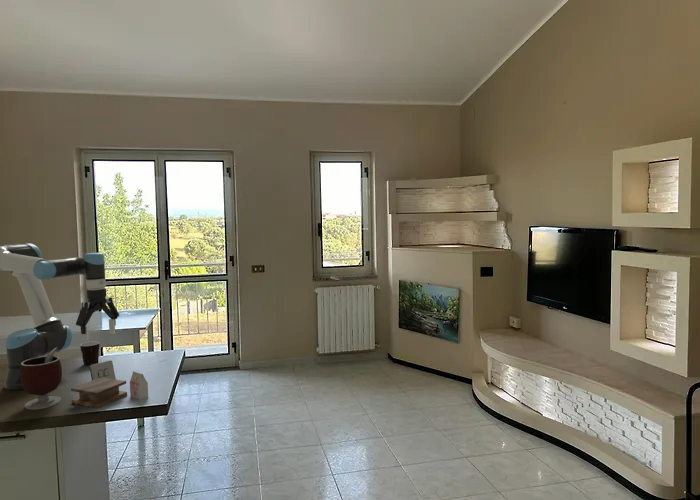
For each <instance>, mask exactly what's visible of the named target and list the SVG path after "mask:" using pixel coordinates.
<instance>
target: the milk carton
mask: <svg viewBox="0 0 700 500" xmlns="http://www.w3.org/2000/svg"><path fill="white" fill-rule="evenodd" d="M129 393H130V398H133V399H136V400H139V401H141V400H145V399H148V398H149V385H148V381H147V379H146V378H145V376H144V374H143V373H142V372H137V371H135V370H134V371H132V375H131V377H130V380H129Z"/></svg>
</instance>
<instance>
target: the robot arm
mask: <svg viewBox="0 0 700 500" xmlns="http://www.w3.org/2000/svg"><path fill="white" fill-rule="evenodd" d="M105 263H106V261H105V255H104V253H102V252H88V253H85V254H84V256H83V257H80V256H79V257H77V256H70V257H67V258H59V259H47V258H43V255H42V252H41V250H40V248H39V247H38V246H36V244H33V243H30V242H29V243H27V242H26V243H25V242H20V243H11V244H10V243H8V244H7V243H5V244H0V272H6V271H9V272H10V274H11V276H13V277H16V279H17V282H18V284H19V286H20V289H21V291H22V293H23V296H24V299H25V302H26V304H27V307H28V310H29V313H30V316H31V318H32V321H33V324H34V325H33V328H24V329H20V330H15V331H14V332H12V333H10V334H8V335H7V337H6V343H5V348H6V355H7V357H6V360H7V373H6V374H5V375H6V376H5V380H4V386H3V387H4V389H5V390H9V391H19V390H24V389H23V387H22V384H21V380H20V369H21V363H22V362H23V361H25V360H28V359H32V358H36V357H43V356H47V355H48V354H49V353H50V352H51V351H52V350H53V349H54V348H57V349H56V350H55V352H54V353H59V352H61V351H64V350H67V348H69V347H70V346H71V343H72V340H73V334H72V330H71V328H70V326H69V325H68V324H65V323H62V321H61V319H59V318H57V316H55V312H54V310H53V307H52V305H51V302H50V299H49V296H48V294H47V292H46V289H45V287H44V284H43V282H42V280H51V279H56V278H63V277H71V276H79V275H83V276H84V275H85V285H86V286H85V287H86V289H87V290H86V298H87V300H88V301H87V302H86V301H85V302H84V301H82V302H81V304H80V305H81V307H80V309H79V314H78V316H77V319H76V322H75V325H76V326H78V327H80V334H81V335H82V342H85V343H86V342H90V336H89V335H90V334H89V325H87V324H88V323H89V322H90V319H91V318H92V316H93V314H94V313H95V312H96V311H98V312H99V310H100V311H103V312H104V313H105V314H106V315H107V317H109V319H108V329H109V335H116V325H117V323H116V320H117V319H118V318H119V317H120V313H119V312H118V310H117V307H116V306H115V304H114V301H113V297H107V288H106V287H107V284H106V283H107V282H106V267H105V266H106V265H105Z"/></svg>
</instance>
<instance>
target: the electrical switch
mask: <svg viewBox="0 0 700 500" xmlns="http://www.w3.org/2000/svg"><path fill="white" fill-rule="evenodd" d="M89 372H90V377H91V381H92V380H95V379H98V378H101V377H102V378H109V379H116V374H115V368H114V363H113V361H112V360H105V361H101V362H98V363H97V364H93V365H91V366H89ZM116 380H117V379H116Z"/></svg>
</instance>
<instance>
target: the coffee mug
mask: <svg viewBox="0 0 700 500" xmlns="http://www.w3.org/2000/svg"><path fill="white" fill-rule="evenodd" d="M79 347H80V353H81V357H82V363H83V366H84V367H88V366H89V367H90V366H91V365H93V364H97V363H99V360H100V359H99V358H100V342H99V341H88V342H86V341H85V342H83V343H80V345H79Z"/></svg>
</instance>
